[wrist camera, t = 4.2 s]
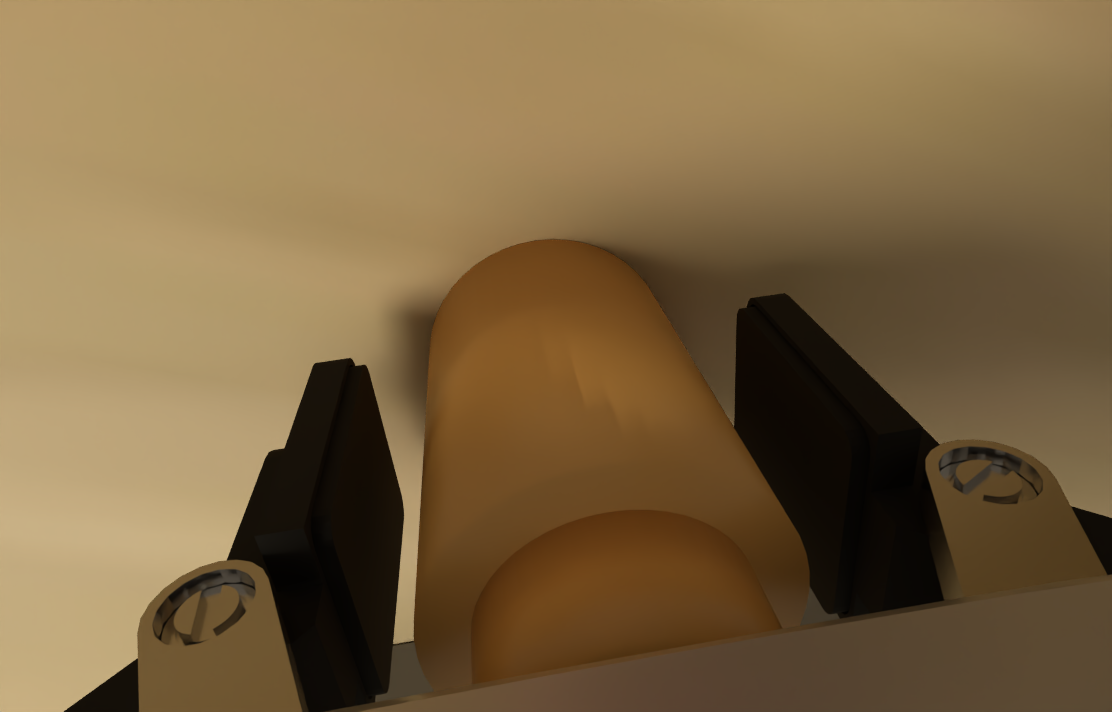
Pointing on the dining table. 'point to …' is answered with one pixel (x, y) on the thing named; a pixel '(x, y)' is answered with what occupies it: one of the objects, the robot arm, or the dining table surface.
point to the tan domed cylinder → (583, 481)
